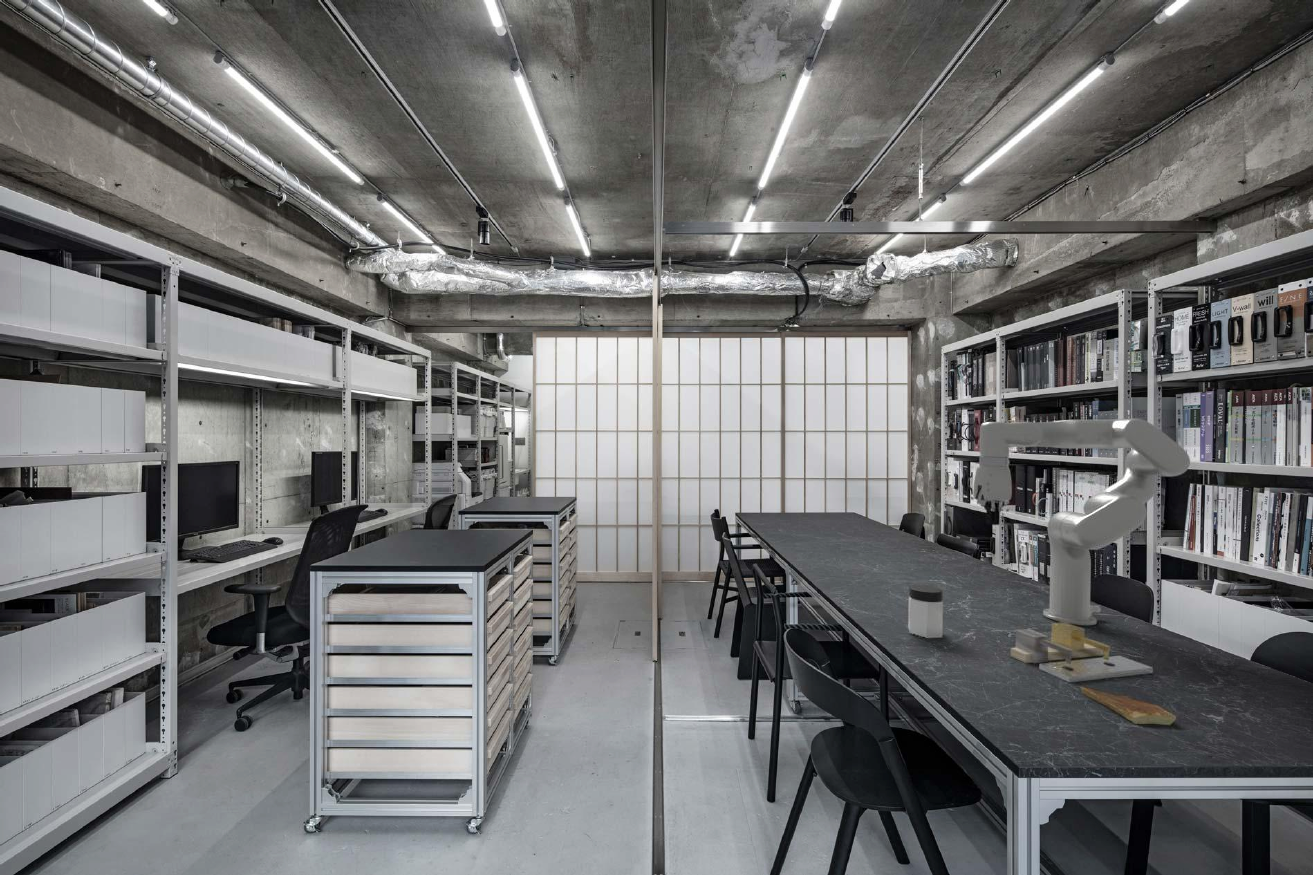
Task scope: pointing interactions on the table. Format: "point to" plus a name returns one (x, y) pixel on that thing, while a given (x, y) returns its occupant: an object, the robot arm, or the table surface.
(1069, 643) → the sliding leg
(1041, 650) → the divider rail
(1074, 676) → the bolt plate
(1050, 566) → the robot arm
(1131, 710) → the shard
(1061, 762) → the table surface
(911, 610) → the jar
